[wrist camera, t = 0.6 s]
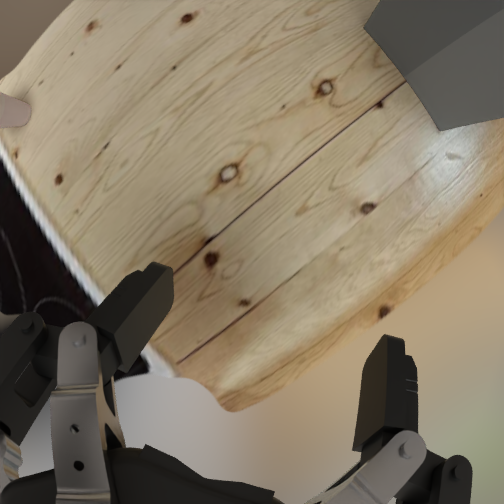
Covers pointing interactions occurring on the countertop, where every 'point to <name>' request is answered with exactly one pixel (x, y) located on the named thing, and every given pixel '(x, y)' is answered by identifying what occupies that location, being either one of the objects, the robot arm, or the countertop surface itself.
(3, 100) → the smoothie
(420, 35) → the block
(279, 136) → the countertop surface
